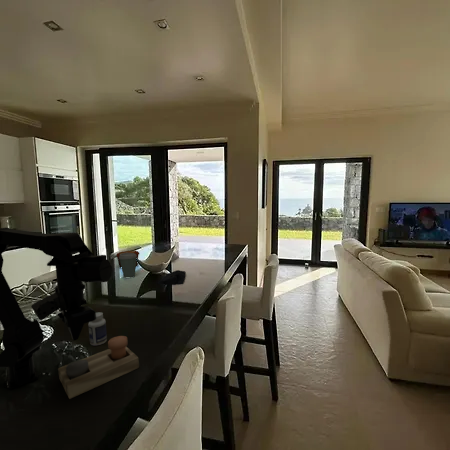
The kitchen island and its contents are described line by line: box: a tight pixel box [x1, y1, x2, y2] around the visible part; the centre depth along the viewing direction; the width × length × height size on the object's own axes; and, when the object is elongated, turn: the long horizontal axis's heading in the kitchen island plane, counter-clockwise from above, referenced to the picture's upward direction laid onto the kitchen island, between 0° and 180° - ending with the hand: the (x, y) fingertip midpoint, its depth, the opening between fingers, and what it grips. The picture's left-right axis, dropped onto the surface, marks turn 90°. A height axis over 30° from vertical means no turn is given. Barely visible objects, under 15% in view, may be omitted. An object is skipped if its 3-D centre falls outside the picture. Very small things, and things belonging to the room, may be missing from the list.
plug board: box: [57, 346, 140, 400], centre depth 78 cm, size 11×18×3 cm, turn 132°
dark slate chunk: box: [157, 269, 187, 286], centre depth 167 cm, size 15×22×5 cm
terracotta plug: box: [107, 335, 128, 359], centre depth 81 cm, size 5×5×5 cm
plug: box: [66, 359, 89, 380], centre depth 74 cm, size 5×5×5 cm
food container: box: [115, 250, 140, 268], centre depth 202 cm, size 16×16×11 cm
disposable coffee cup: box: [119, 253, 137, 278], centre depth 175 cm, size 11×11×15 cm
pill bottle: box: [88, 311, 108, 346], centre depth 95 cm, size 5×5×10 cm
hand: (75, 339), depth 73 cm, fingers closed
